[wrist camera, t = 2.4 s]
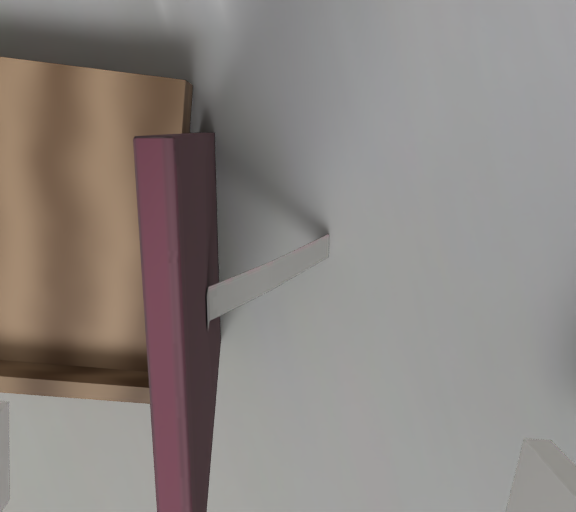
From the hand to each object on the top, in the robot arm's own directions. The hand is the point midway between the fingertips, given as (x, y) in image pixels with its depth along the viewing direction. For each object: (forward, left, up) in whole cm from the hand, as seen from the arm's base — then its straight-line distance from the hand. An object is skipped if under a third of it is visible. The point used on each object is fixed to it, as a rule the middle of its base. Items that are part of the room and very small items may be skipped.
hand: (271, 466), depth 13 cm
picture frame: (0, 0, -29) cm, 29 cm away
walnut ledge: (+14, 0, -28) cm, 31 cm away
